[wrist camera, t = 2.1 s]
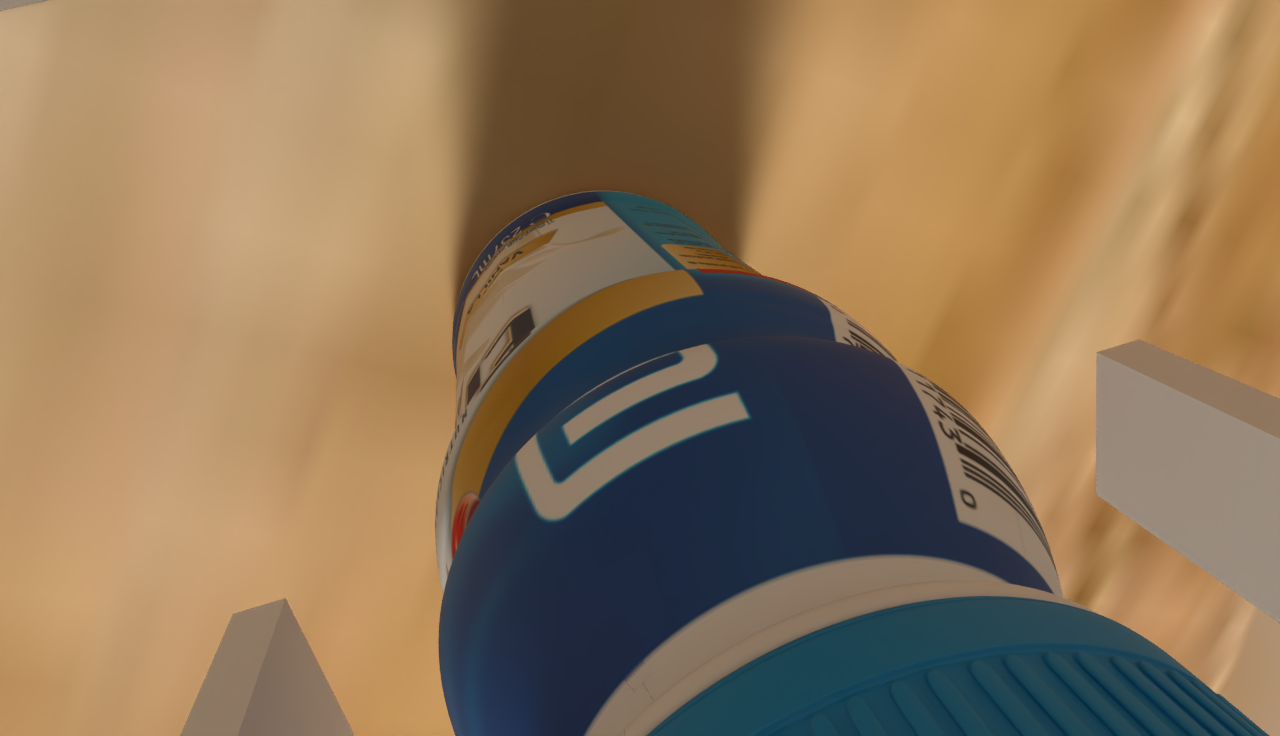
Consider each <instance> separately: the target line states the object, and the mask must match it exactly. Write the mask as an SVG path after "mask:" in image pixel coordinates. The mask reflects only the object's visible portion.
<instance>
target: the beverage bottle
mask: <svg viewBox="0 0 1280 736" xmlns="http://www.w3.org/2000/svg"><path fill="white" fill-rule="evenodd" d="M452 348H453V361H454V369H455V374H456V379H457V386H456V415H455V431H454V434H453V436H452V439H451V441H450V444H449V447H448V450H447V453H446V456H445V459H444V463H443V467H442V471H441V475H440V480H439V485H438V492H437V501H436V516H435V538H436V554H437V563H438V571H439V577H440V582H441V587H442V591H443V600H442V606H441V613H440V623H439V663H440V673H441V681H442V687H443V692H444V697H445V701H446V705H447V710H448V713H449V717H450V720H451V723H452V726H453V730H454V732H455V735H456V736H1269V735H1268V734H1267V733H1265V732H1264V731H1263V730H1262V729H1260V728H1259V727H1258V726H1257V725H1256V724H1255V723H1253V722H1252V721H1251V720H1249V718H1247V717H1246V716H1245V715H1244V714H1243V713H1242V712H1240V711H1239V710H1238V709H1237V708H1235V707H1234V706H1233V705H1232V704H1231V703H1229V702H1228V701H1227V700H1226V699H1225V698H1224V697H1222V696H1221V695H1220V694H1216V693H1215V692H1213V691H1212V690H1211V689H1210V688H1209V687H1208V686H1206V685H1205V684H1204V683H1203V682H1202V681H1200V680H1199V679H1198V678H1197V677H1196V676H1194V675H1193V674H1192V673H1191V672H1190V671H1188V670H1187V669H1186V668H1185V667H1183V666H1182V665H1181V664H1180V663H1178V662H1177V661H1176V660H1175V659H1173V658H1172V657H1171V656H1170V655H1168V654H1167V653H1166V652H1164V651H1163V650H1162V649H1160V648H1159V647H1158V646H1156V645H1155V644H1153V643H1152V642H1150V641H1149V640H1147V639H1146V638H1144V637H1143V636H1141V635H1139V634H1137V633H1136V632H1134V631H1132V630H1131V629H1129V628H1127V627H1125V626H1123V625H1121V624H1119V623H1117V622H1115V621H1113V620H1111V619H1109V618H1106V617H1104V616H1101V615H1099V614H1097V613H1095V612H1093V611H1092V610H1090V609H1088V608H1086V607H1084V606H1082V605H1080V604H1078V603H1075V602H1073V601H1071V600H1068V599H1066V598H1063V594H1062V590H1061V586H1060V582H1059V578H1058V574H1057V571H1056V567H1055V564H1054V561H1053V558H1052V554H1051V551H1050V548H1049V545H1048V542H1047V540H1046V537H1045V534H1044V532H1043V529H1042V527H1041V524H1040V522H1039V520H1038V517H1037V515H1036V513H1035V511H1034V508H1033V506H1032V504H1031V502H1030V500H1029V499H1028V497H1027V495H1026V493H1025V491H1024V489H1023V487H1022V485H1021V484H1020V482H1019V480H1018V479H1017V477H1016V475H1015V473H1014V472H1013V470H1012V469H1011V467H1010V465H1009V464H1008V462H1007V461H1006V459H1005V458H1004V456H1003V455H1002V453H1001V452H1000V450H999V449H998V447H997V446H996V445H995V443H994V442H993V441H992V439H991V438H990V437H989V435H988V434H987V433H986V431H985V430H984V429H983V428H982V427H981V425H980V424H979V423H978V422H977V421H976V420H975V419H974V418H973V417H972V415H971V414H970V413H969V412H968V411H967V410H966V409H965V408H964V407H963V406H962V405H960V404H959V403H958V402H957V401H956V400H955V399H954V398H953V397H952V396H950V395H949V394H948V393H947V392H946V391H944V390H943V389H942V388H940V387H939V386H938V385H936V384H935V383H933V382H932V381H930V380H929V379H927V378H926V377H924V376H923V375H921V374H919V373H918V372H916V371H914V370H913V369H911V368H909V367H907V366H905V365H903V364H901V363H899V362H898V361H897V360H896V359H895V358H894V356H893V355H892V354H891V353H890V352H889V351H888V350H887V349H886V348H885V347H884V346H883V344H882V343H881V342H879V341H878V340H877V339H876V338H875V337H874V336H873V335H872V334H871V333H870V332H869V331H867V330H866V329H865V328H864V327H863V326H862V325H860V324H859V323H858V322H857V321H855V320H854V319H853V318H851V317H850V316H849V315H847V314H846V313H845V312H843V311H842V310H840V309H839V308H837V307H836V306H834V305H833V304H831V303H829V302H828V301H826V300H824V299H823V298H821V297H819V296H817V295H815V294H813V293H811V292H809V291H807V290H805V289H802V288H800V287H798V286H795V285H793V284H790V283H787V282H784V281H781V280H778V279H775V278H771V277H767V276H763V275H761V274H760V273H758V272H757V271H755V270H754V269H752V268H751V267H750V266H748V265H747V264H745V263H744V262H742V261H741V260H739V259H738V258H736V257H735V256H733V255H732V254H731V253H729V252H728V251H726V250H725V249H723V248H722V247H721V246H720V245H719V244H718V243H717V242H716V241H715V240H714V239H713V238H712V237H711V236H710V235H709V234H708V233H707V232H706V231H705V230H704V229H703V228H701V227H700V226H699V225H698V224H696V223H695V222H694V221H692V220H691V219H690V218H688V217H687V216H685V215H684V214H682V213H681V212H679V211H677V210H676V209H674V208H672V207H670V206H668V205H666V204H664V203H662V202H659V201H657V200H654V199H652V198H648V197H645V196H642V195H638V194H633V193H628V192H621V191H586V192H579V193H574V194H569V195H565V196H562V197H558V198H555V199H552V200H550V201H547V202H545V203H542V204H540V205H538V206H536V207H534V208H532V209H530V210H528V211H527V212H525V213H523V214H522V215H520V216H519V217H517V218H516V219H514V220H513V221H512V222H510V223H509V224H508V225H506V226H505V227H504V228H503V229H502V230H501V231H500V232H499V233H497V234H496V235H495V237H494V238H493V239H492V240H491V241H490V242H489V243H488V244H487V245H486V247H485V248H484V249H483V250H482V252H481V253H480V254H479V256H478V257H477V259H476V260H475V262H474V264H473V265H472V267H471V269H470V271H469V272H468V274H467V276H466V279H465V281H464V283H463V286H462V288H461V291H460V294H459V297H458V301H457V305H456V309H455V315H454V322H453V338H452Z"/></svg>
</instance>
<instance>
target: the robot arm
mask: <svg viewBox="0 0 1280 736" xmlns="http://www.w3.org/2000/svg"><path fill="white" fill-rule="evenodd" d="M1096 495H1098V496H1099V497H1100V498H1102V499H1103V500H1105V501H1106V502H1108V503H1109V504H1110V505H1112V506H1113V507H1115V508H1116V509H1118V510H1119V511H1120V512H1122V513H1123V514H1125V515H1126V516H1128V517H1129V518H1130V519H1132V520H1133V521H1135V522H1136V523H1138V524H1139V525H1140V526H1142V527H1143V528H1145V529H1146V530H1148V531H1149V532H1150V533H1152V534H1153V535H1155V536H1156V537H1158V538H1159V539H1160V540H1162V541H1163V542H1165V543H1166V544H1167V545H1169V546H1170V547H1172V548H1173V549H1175V550H1176V551H1177V552H1179V553H1180V554H1182V555H1183V556H1185V557H1186V558H1187V559H1189V560H1190V561H1192V562H1193V563H1195V564H1196V565H1197V566H1199V567H1200V568H1202V569H1203V570H1205V571H1206V572H1207V573H1209V574H1210V575H1212V576H1213V577H1215V578H1216V579H1217V580H1219V581H1220V582H1222V583H1223V584H1225V585H1226V586H1227V587H1229V588H1230V589H1232V590H1233V591H1235V592H1236V593H1237V594H1239V595H1240V596H1242V597H1243V598H1245V599H1246V600H1247V601H1249V602H1250V603H1252V604H1253V605H1254V606H1256V607H1257V608H1259V609H1260V610H1262V611H1263V612H1265V613H1266V614H1267V615H1269V616H1270V617H1272V618H1273V619H1274V620H1276V621H1278V622H1279V623H1280V399H1279V398H1277V397H1274V396H1272V395H1270V394H1267V393H1265V392H1262V391H1260V390H1258V389H1255V388H1253V387H1251V386H1248V385H1246V384H1244V383H1241V382H1239V381H1236V380H1234V379H1232V378H1229V377H1227V376H1225V375H1222V374H1220V373H1217V372H1215V371H1213V370H1210V369H1208V368H1206V367H1203V366H1201V365H1199V364H1196V363H1194V362H1191V361H1189V360H1187V359H1184V358H1182V357H1180V356H1177V355H1175V354H1173V353H1170V352H1168V351H1165V350H1163V349H1161V348H1158V347H1156V346H1154V345H1151V344H1149V343H1147V342H1144V341H1142V340H1136V341H1133V342H1129V343H1126V344H1123V345H1119V346H1116V347H1113V348H1109V349H1106V350H1103V351H1100V352H1097V385H1096ZM180 736H353V731H352V729H351V727H350V725H349V723H348V721H347V719H346V717H345V715H344V713H343V711H342V709H341V707H340V705H339V703H338V701H337V699H336V697H335V695H334V693H333V691H332V689H331V687H330V685H329V684H328V682H327V680H326V678H325V676H324V674H323V672H322V670H321V668H320V666H319V664H318V662H317V660H316V658H315V656H314V654H313V652H312V650H311V648H310V646H309V644H308V642H307V640H306V638H305V636H304V634H303V632H302V630H301V628H300V626H299V624H298V622H297V620H296V618H295V616H294V614H293V612H292V610H291V608H290V606H289V604H288V602H287V600H286V598H285V599H281V600H278V601H275V602H271V603H268V604H265V605H262V606H258V607H255V608H252V609H248V610H245V611H242V612H238V613H235V614H233V615H232V618H231V620H230V622H229V624H228V627H227V629H226V631H225V634H224V636H223V638H222V641H221V643H220V645H219V648H218V650H217V652H216V654H215V657H214V659H213V661H212V664H211V666H210V668H209V671H208V673H207V675H206V678H205V680H204V682H203V684H202V687H201V689H200V691H199V694H198V696H197V698H196V701H195V703H194V705H193V708H192V710H191V712H190V715H189V717H188V719H187V721H186V724H185V726H184V728H183V731H182V733H181V735H180Z"/></svg>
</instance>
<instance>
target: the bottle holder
mask: <svg viewBox="0 0 1280 736" xmlns="http://www.w3.org/2000/svg"><path fill="white" fill-rule="evenodd" d="M41 1H46V0H0V11H1V10H6V9H10V8H15V7H19V6H24V5H28V4H32V3H37V2H41Z"/></svg>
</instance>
